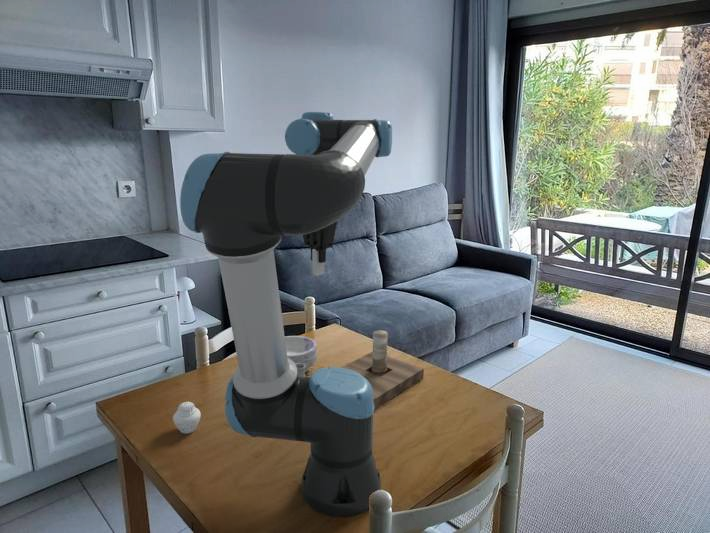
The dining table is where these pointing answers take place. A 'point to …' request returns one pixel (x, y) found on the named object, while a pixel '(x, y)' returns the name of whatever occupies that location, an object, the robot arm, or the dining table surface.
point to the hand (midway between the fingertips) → (318, 274)
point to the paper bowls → (301, 350)
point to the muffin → (186, 417)
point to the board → (387, 377)
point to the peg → (379, 352)
